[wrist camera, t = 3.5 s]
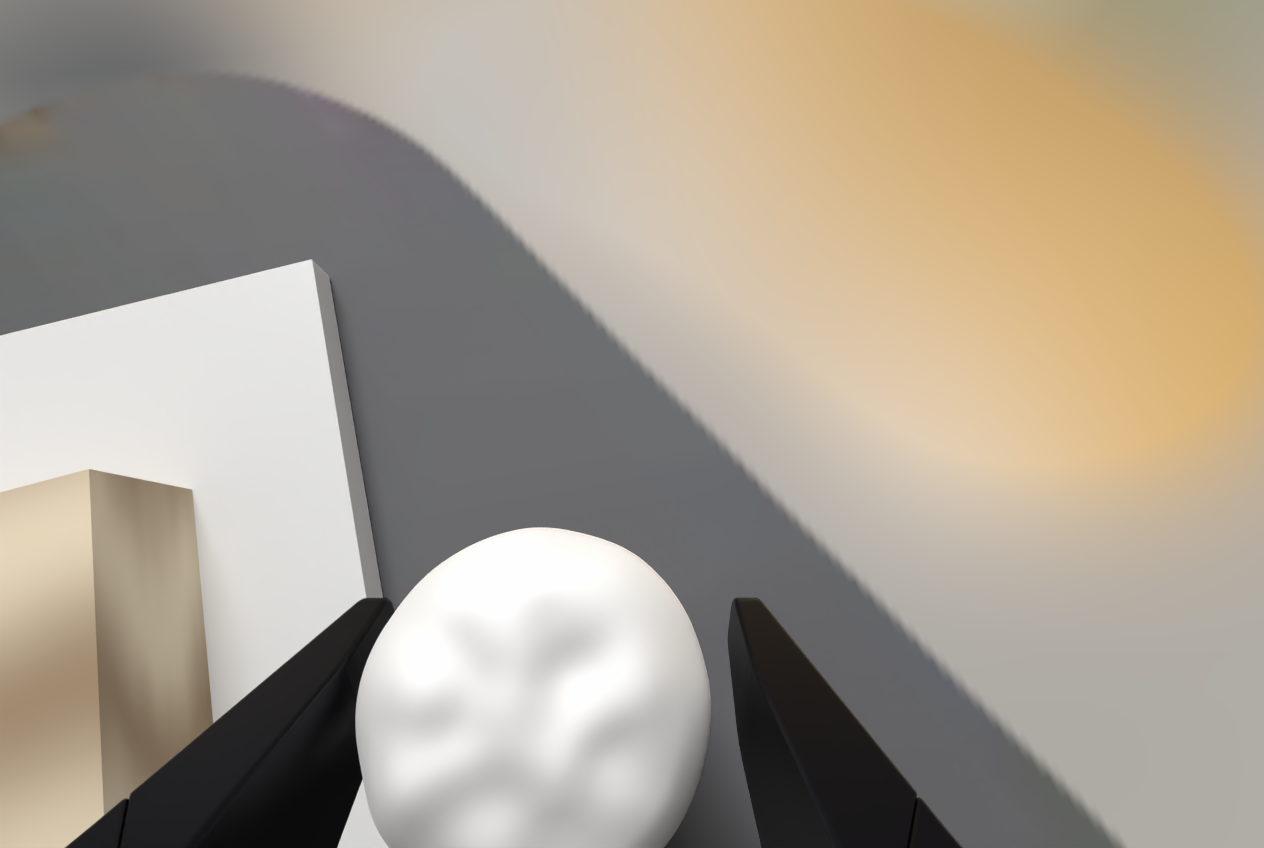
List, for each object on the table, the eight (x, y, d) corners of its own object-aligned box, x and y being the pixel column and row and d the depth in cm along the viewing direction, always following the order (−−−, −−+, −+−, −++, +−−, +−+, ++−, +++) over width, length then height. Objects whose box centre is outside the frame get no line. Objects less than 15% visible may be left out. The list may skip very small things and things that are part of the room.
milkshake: (541, 797, 14) (355, 1263, 5) (477, 589, 16) (224, 609, 6) (709, 724, 15) (860, 1006, 5) (632, 527, 16) (635, 452, 6)
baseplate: (475, 1146, 12) (461, 1194, 12) (-429, 1477, 11) (-529, 1562, 10) (328, 276, 18) (311, 259, 17) (-290, 429, 17) (-347, 420, 16)
